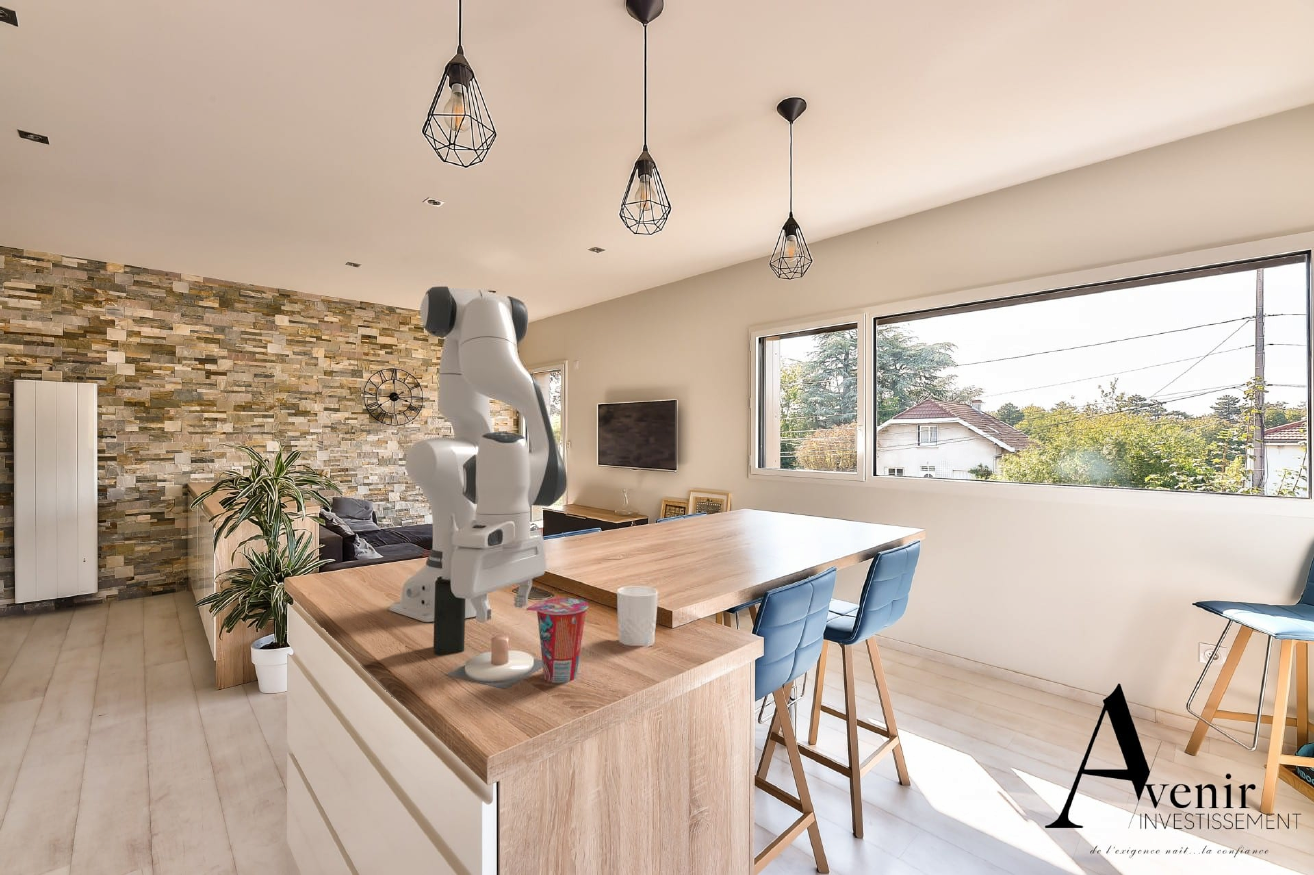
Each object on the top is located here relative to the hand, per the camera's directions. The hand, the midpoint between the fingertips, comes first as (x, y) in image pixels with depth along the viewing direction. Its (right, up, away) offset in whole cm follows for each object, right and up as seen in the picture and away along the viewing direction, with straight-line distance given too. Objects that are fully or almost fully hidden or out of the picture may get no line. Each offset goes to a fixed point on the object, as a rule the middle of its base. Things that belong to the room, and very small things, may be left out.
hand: (503, 613), depth 94 cm
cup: (+10, -10, -3) cm, 14 cm away
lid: (-1, -9, 0) cm, 9 cm away
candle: (-12, -10, +9) cm, 18 cm away
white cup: (+21, -11, +16) cm, 29 cm away
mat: (-1, -10, 0) cm, 10 cm away
